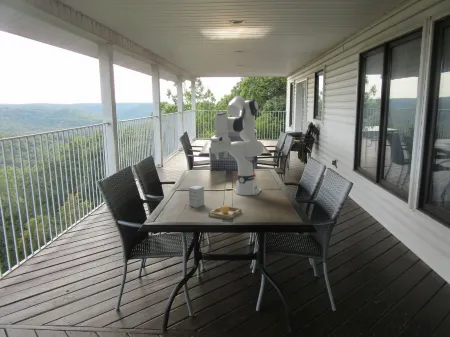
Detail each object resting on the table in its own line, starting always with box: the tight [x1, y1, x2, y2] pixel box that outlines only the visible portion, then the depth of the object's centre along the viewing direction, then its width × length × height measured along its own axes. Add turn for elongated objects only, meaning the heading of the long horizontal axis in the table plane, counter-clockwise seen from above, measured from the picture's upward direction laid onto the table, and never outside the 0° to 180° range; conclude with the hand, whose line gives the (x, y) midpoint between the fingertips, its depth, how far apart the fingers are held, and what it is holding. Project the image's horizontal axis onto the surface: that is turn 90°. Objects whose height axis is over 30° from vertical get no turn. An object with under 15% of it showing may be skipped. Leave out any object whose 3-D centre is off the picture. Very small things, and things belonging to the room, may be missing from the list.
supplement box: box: [188, 185, 205, 208], centre depth 232 cm, size 7×7×13 cm
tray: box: [207, 204, 243, 221], centre depth 215 cm, size 16×14×2 cm
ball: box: [221, 204, 230, 214], centre depth 214 cm, size 5×5×5 cm
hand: (221, 158), depth 230 cm, fingers open, 8 cm apart
